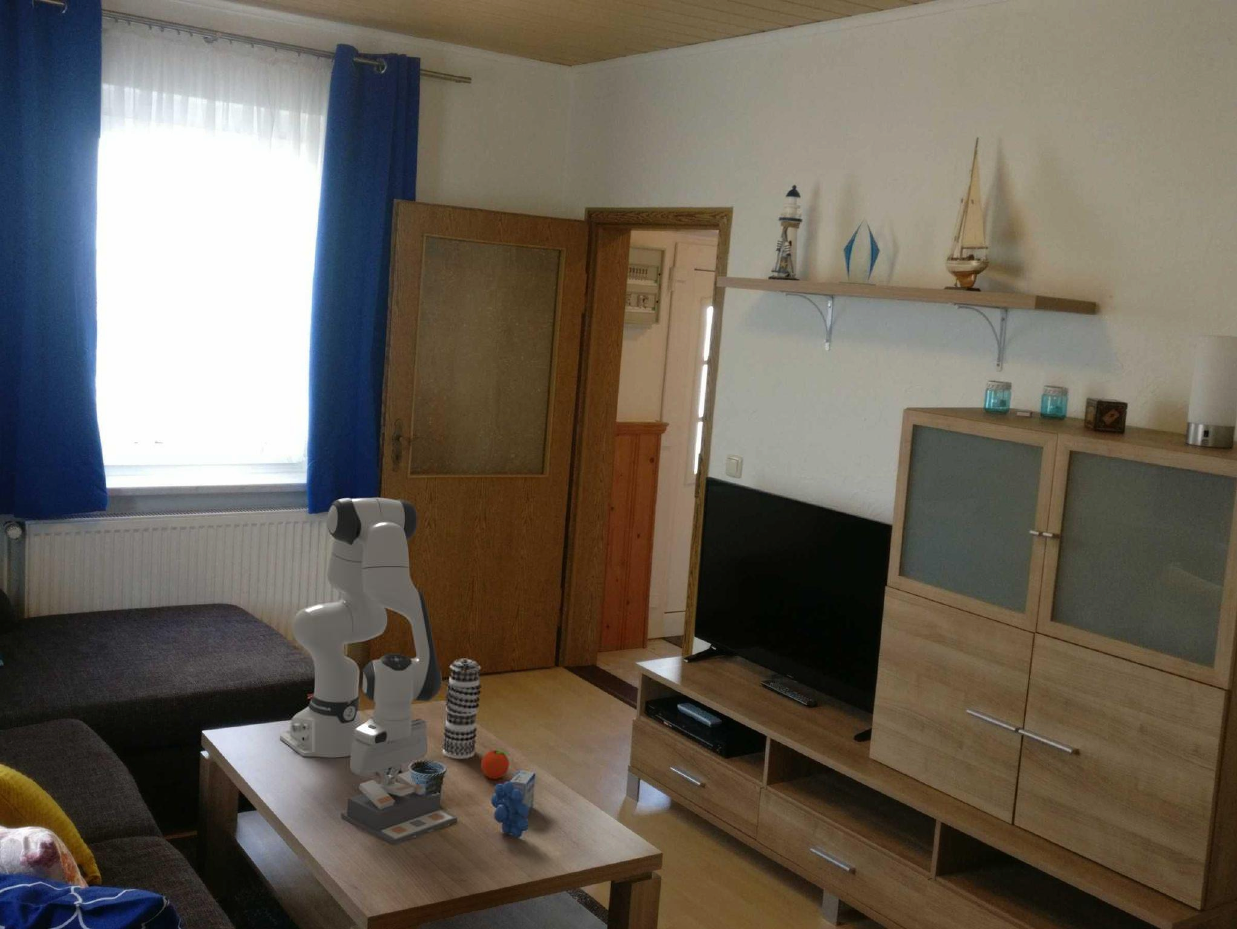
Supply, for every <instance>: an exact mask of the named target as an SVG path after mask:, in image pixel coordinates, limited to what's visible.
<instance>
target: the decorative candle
mask: <svg viewBox="0 0 1237 929" xmlns="http://www.w3.org/2000/svg"><path fill="white" fill-rule="evenodd" d="M449 668H450V676H449V679H448V680H447V681H446V683H445V685H446V692H445V694H446V696H445V699H446V702H445V711H446V712H447V714H446V719H445V726H444V728H443V730H444V732H443V736H444V737H443V739H442V742H443V744H442V755H444V756H445V757H448V758H450V757H451V758H450V759H457V760H463V759H464V760H465V759H469V757H470V758H471V757H472V758H473V757H474V756H475V750H476V742H477V741H476V737H477V733H476V732H477V731H478V730H477V727H476V726H477V724H476V723H477V721H476V716H477V713H478V712H479V707H480V704H479V702H480V697H478V696H479V695H480V694H481V690H480V689H481V688H482V685H481V684H480V670H481V669H482V668H481V666H480V665H479V664H478V662H477V661H476V660H474V659H471V658H458V659H455V660H454V661H453V662H452V663H451V664H449Z"/></svg>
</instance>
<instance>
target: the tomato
mask: <svg viewBox="0 0 1237 929" xmlns="http://www.w3.org/2000/svg"><path fill="white" fill-rule="evenodd" d="M506 755H508V756H510V754H509V753H508V752H506V751H503V750H497V749H496V750H490V751H489V752H486V754H485V755H484V756H483V758H482V759H481V770H482V773H483V774H484V775H485V776H486V777H488V778H489V779H493V780H495V779H501V778H502V777H505V775H506V773H507V772H508V770H509V767H510V763H509V759H508V756H506ZM511 760H512V761H514V760H513V758H511Z"/></svg>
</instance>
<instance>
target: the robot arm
mask: <svg viewBox="0 0 1237 929" xmlns="http://www.w3.org/2000/svg"><path fill="white" fill-rule="evenodd" d="M417 512H418V511H417V509H416V508H415V506H414V504H413V503H411V502H410V501H407V500H403V499H392V498H386V497H385V498H384V497H357V498H350V497H344V498H340V499H336V500H333V502H332V503H331V504H330V507H329V509H328V512H327V518H326V522H327V530H328V533H329V535H331V536H332V537H333V541H332V545H331V552H330V558H329V562H328V568H327V573H326V576H327V581H328V583H329V584H330V586H331V587H332V588H333V589H335V590H336V591H338V592H340V599H339V601H334V602H326V603H317V604H314V605H310V606H307V607H305V608H303V609H300V610H298V611H297V613H296V614H295V616H294V618H293V621H292V633H293V637H294V639H295V640H296V642H298V644H299V645H301V646H302V647H303V648H305V650H307V652H308V653H309V655H310V657H311V659H312V662H313V666H314V693H309V694H307V699H308V700H309V699H310V701H309V704H308V706H307V707H305V708H304V709H303V710H301V711H299V712H297V713H296V714H294V716H293V717H292V718H291V721H290V728H289V729H288V730H286V731H284V732H282V733H281V734H280V735H279V739H280V740H281V741H283V743H286V744H287V745H288V746H289V747H290V748H291V749H292V750H294V751H295V752H297V753H298V755H300V756H302V757H319V758H321V757H322V758H331V759H333V758H343V757H349V756H350V760H349V761H350V762H349V768H350V770H351V772H352V773H353V774H355V775H357V776H359V777H364V776H368V775H370V774H374V773H378V775H379V776H380V784H382V785H384V786H387V785H390V784H393V783H395V782H396V781H397V780H396V778H397V775H398V774H399V772H400V770H401V767H402V766H401V765H404V764H406V763H409V762H414V761H416V760H419V759H422V758H424V757H426V755H427V753H428V735H427V722H426V721H425V720H424V719H423V718H417V719H414V720H413V708H412V702H413V701H417V702H419V701H420V702H421V701H422V702H429V701H430V700H432V699H433V698H434V697H435V696H436V695H437V694H438V693H439V692H440V691H441V689H442V683H443V682H442V680H443V678H442V677H443V676H442V673H441V668H440V666H439V661H438V658H437V653H436V648H435V642H434V638H433V633H432V632H433V631H432V627H431V621H430V616H429V611H428V608H427V602H426V599H425V596H424V594H423V592H422V591H421V590H419V589H417V588H416V587H415V585H414V583H413V580H412V578H411V574H410V557H409V547H408V540H410V539H411V538H412V537H413V536H414V535H415V533H416V531H417V527H418V513H417ZM386 609H387V610H391V611H392V612H396V613H398V614H400V615H402V616H403V617H405V618H406V620H408V622H409V623H410V626H411V632H412V637H413V643H414V648H415V653H416V656H415V657H414V658H410V657H409V656H408V655H405V654H402V653H388V654H385V655H383V656H382V657H381V656H380V658H379V659H374V660H370V661H369V662H368V663H367V664H366V665H365V666H364V667H363V668H362V674H361V675H362V677H361V693H362V695H363V696H365V697H366V698H367V699H368V700H370V701H371V702H375V705H374V709H373V712H372V713H373V714H372V716H370V718H369V719H367V720H366V721H365V722H364V723H362V724H361V719H360V718H361V717H360V716H361V715H360V712H359V709H360V703H361V702H360V701H361V700H360V695H359V682H360V668H359V665H358V664H357V663H356V661H355V660H353V659H352V658H350V657H348V656H346V655H345V653H344V647H345V645H347V644H353V643H359V642H366V641H368V640H371V639H374V638H376V637H378V636H381V635H382V634H383V633H384V631H385V630H386V628H387V625H388V624H387V623H388V614H387V611H386ZM390 768H391V769H390ZM389 769H390V771H389ZM387 773H388V774H387Z"/></svg>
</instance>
